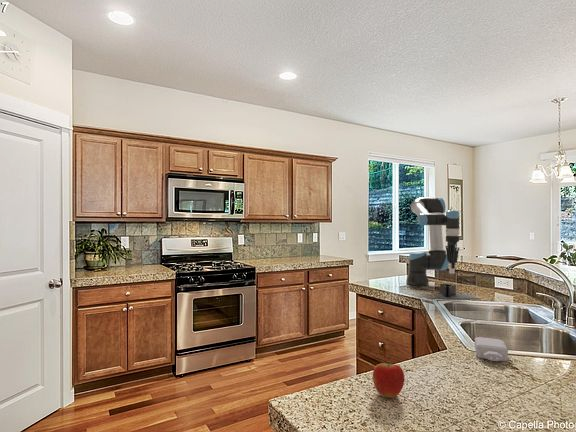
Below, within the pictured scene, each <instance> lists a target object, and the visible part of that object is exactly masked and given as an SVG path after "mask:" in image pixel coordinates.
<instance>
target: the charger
mask: <svg viewBox="0 0 576 432" xmlns="http://www.w3.org/2000/svg"><path fill="white" fill-rule="evenodd" d="M474 350H475V354H476V357H477V358H479V359H485V360H489V361H492V362H508V361H509V350H508V348H507V346H506V343H505V342H504V341H503V339H500V338H499V339H498V338H491V337H484V336H483V337H482V336H478V337H477V336H476V337H474Z"/></svg>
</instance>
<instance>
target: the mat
mask: <svg viewBox="0 0 576 432" xmlns="http://www.w3.org/2000/svg"><path fill="white" fill-rule="evenodd" d="M433 296H435V297H438V298H439V299H442V300H480V298H479V297H477V296H475V295H471V294H469V293H467V294H466V293H463V294H462V293H456V295H453V296H451V297H449V298H448V296H447V297H445V296H444V295H442V294H441V293H436V294H435V293H434V294H433Z"/></svg>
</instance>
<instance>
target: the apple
mask: <svg viewBox="0 0 576 432" xmlns="http://www.w3.org/2000/svg"><path fill="white" fill-rule="evenodd" d="M387 358H388V360H390V356H387ZM372 371H373V372H372V381H373V382H372V383H373V384H374V388H375V389H376V391H377V393H378V394H379V395H381V396H382V397H383V398H387V399H391V398H395V397H396V396H398V395H399V394H400V393H401V392H402V389H403V387H404V385H405V374H404V370H403V369H402V367H401V366H400V365H399V364H392V363H384V362H382V363H378V364H376V366H375V367H374V368H373V370H372Z"/></svg>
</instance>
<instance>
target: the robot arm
mask: <svg viewBox="0 0 576 432" xmlns="http://www.w3.org/2000/svg"><path fill="white" fill-rule="evenodd" d="M410 211H411V212H412V213H414V214H416V216H417V224H418V225H419V226H429V227H428V228H429V230H428V231H429V245H430V246H429V247H430V249H428V253H427V251H413V252H410V253H409V255H408V274H407V277H406V285H410V286H418V287H420V286H421V287H422V286H423V287H426V286H429V284H430V282H429V278H428V275H427V271H446V270H447V269H449V270H448V271H449V272H448V273H449V274H451V275H452V274H453V275H454V274H455V273H456V272H455V271H456V269H455V268H456V263H458V258H459V251H460V247H458V243H459V242H460V211H459V210H446V203H445V200H444V198H443V197H437V196H435V197H432V196H430V197H418V198H415V199H414V200H413V201H412V202H411V203H410ZM443 226H445V231H444V232H445V235H446V236H445V242H447V245H445V249H446V250H445V249H444V241H443V240H444V239H443V238H444V237H443V228H442V227H443ZM455 275H456V274H455Z"/></svg>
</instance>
